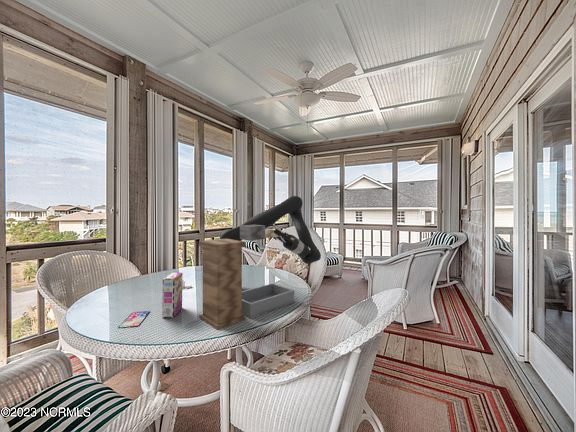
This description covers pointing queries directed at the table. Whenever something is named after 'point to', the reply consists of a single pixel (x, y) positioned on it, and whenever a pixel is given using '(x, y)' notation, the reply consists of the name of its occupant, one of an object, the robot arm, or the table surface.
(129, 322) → the smartphone
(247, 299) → the charcoal tray
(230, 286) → the walnut stand
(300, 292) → the table surface
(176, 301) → the candy bar box
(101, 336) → the table surface
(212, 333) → the table surface
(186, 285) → the teacup and saucer
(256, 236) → the mallet
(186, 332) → the table surface
